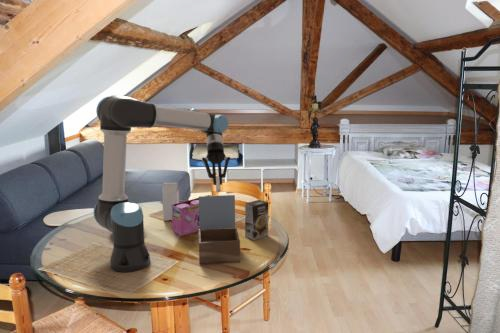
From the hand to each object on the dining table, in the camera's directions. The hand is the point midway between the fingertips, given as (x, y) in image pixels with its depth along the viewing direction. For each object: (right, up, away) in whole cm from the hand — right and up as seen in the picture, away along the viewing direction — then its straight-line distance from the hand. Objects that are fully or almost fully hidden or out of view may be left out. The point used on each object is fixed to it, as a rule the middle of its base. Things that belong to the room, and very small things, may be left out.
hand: (218, 190), depth 178 cm
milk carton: (-27, -17, +35) cm, 47 cm away
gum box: (-12, -20, +22) cm, 32 cm away
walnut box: (+1, -26, -9) cm, 28 cm away
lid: (0, -9, -5) cm, 10 cm away
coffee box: (+17, -22, +12) cm, 30 cm away
